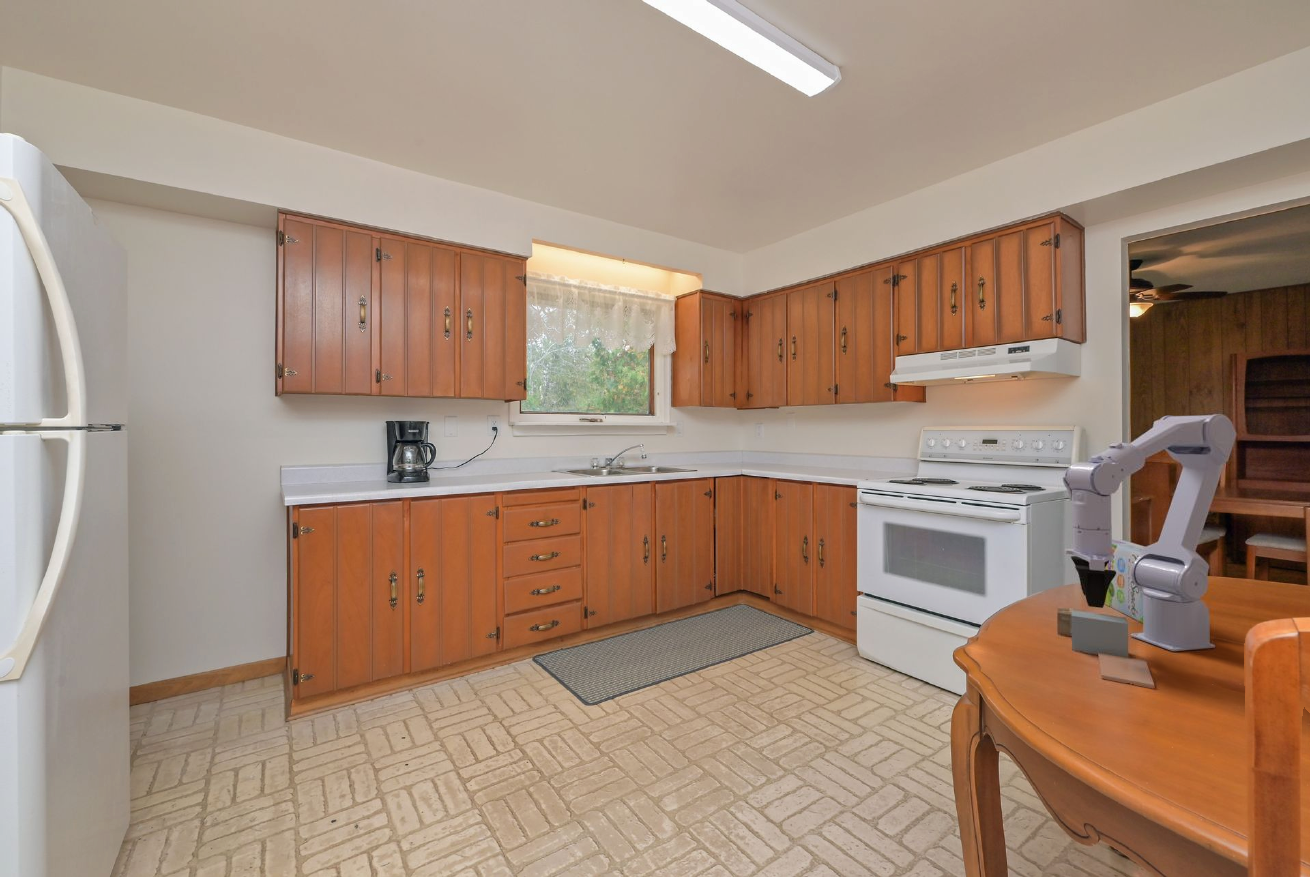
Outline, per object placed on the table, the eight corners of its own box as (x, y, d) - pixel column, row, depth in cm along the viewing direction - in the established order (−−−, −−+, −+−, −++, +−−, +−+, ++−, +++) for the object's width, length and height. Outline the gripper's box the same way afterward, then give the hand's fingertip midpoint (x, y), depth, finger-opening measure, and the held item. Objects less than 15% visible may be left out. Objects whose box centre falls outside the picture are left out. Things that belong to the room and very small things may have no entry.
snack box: (1189, 634, 110) (1189, 558, 110) (1157, 632, 112) (1156, 557, 111) (1123, 601, 131) (1122, 538, 131) (1096, 600, 132) (1095, 537, 132)
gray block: (1071, 643, 107) (1071, 609, 107) (1126, 652, 102) (1126, 617, 102) (1072, 650, 103) (1071, 615, 103) (1128, 660, 99) (1128, 623, 99)
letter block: (1057, 627, 115) (1057, 605, 115) (1085, 632, 112) (1084, 609, 112) (1057, 634, 111) (1057, 611, 111) (1085, 639, 109) (1085, 616, 109)
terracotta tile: (1098, 656, 100) (1098, 652, 100) (1145, 664, 97) (1145, 660, 97) (1101, 678, 92) (1101, 674, 92) (1154, 688, 88) (1154, 684, 88)
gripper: (1061, 520, 111) (1063, 588, 111) (1068, 532, 98) (1069, 608, 99) (1107, 522, 107) (1108, 592, 107) (1119, 535, 95) (1120, 614, 95)
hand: (1092, 600), depth 103 cm, fingers open, 7 cm apart
